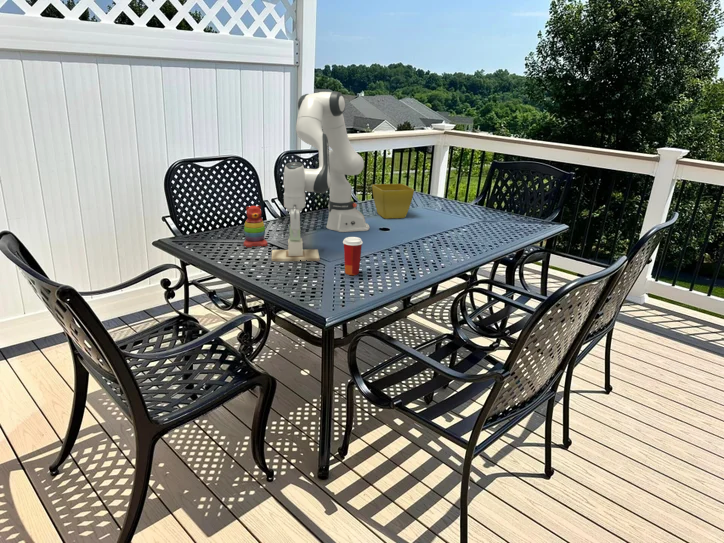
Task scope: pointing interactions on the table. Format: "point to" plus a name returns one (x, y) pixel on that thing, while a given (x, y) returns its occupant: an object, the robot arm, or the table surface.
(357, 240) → the paper cup
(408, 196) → the flower pot
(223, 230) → the table surface
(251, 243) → the stacking bear
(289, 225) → the sage cube
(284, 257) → the base board
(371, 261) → the table surface
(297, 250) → the cream block
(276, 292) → the table surface
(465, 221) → the table surface
